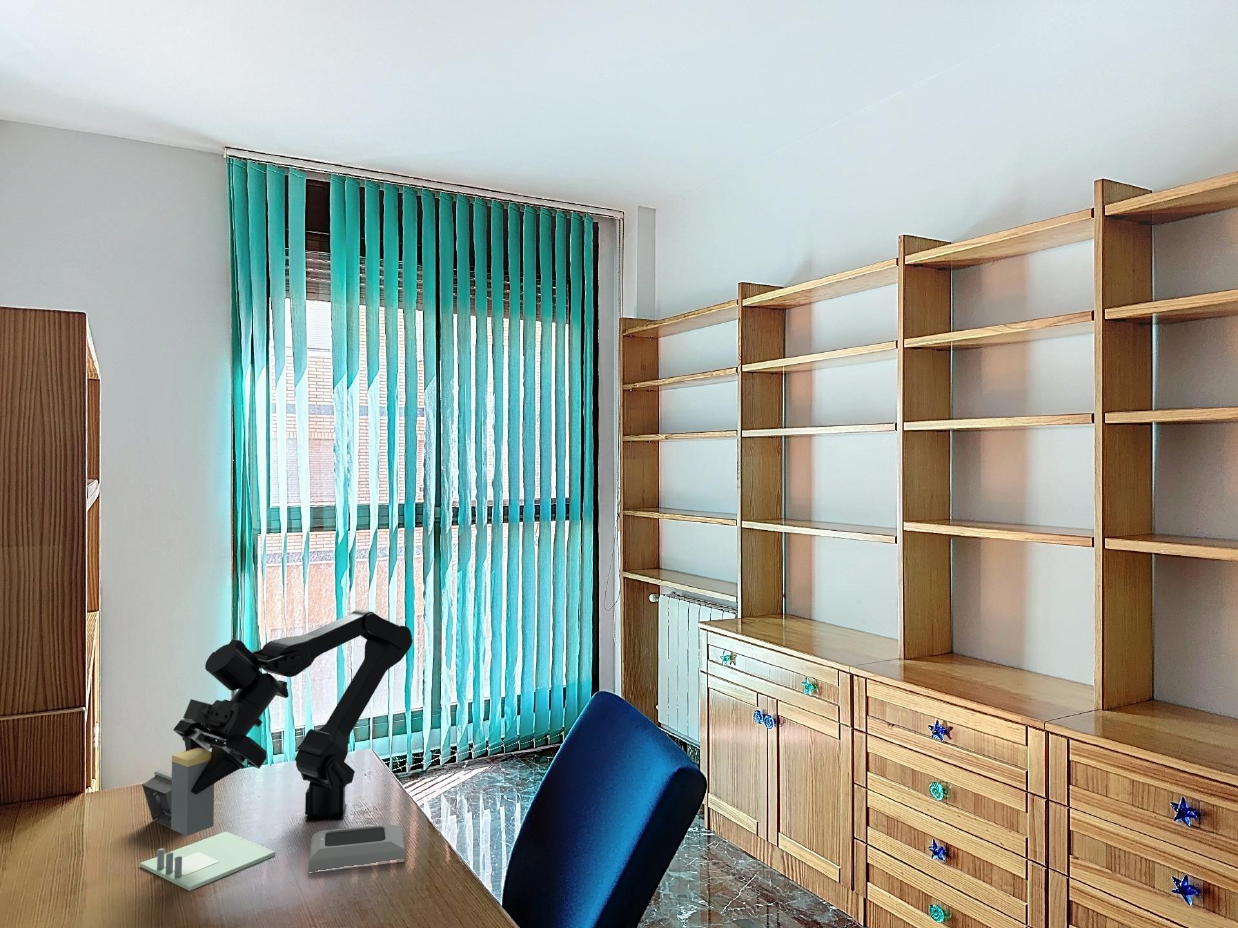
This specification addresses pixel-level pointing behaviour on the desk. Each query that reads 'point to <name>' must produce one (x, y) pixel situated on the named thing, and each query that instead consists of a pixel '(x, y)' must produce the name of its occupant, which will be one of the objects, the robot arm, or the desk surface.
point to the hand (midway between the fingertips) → (184, 789)
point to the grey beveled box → (355, 846)
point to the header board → (206, 860)
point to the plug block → (190, 793)
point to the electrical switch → (159, 797)
